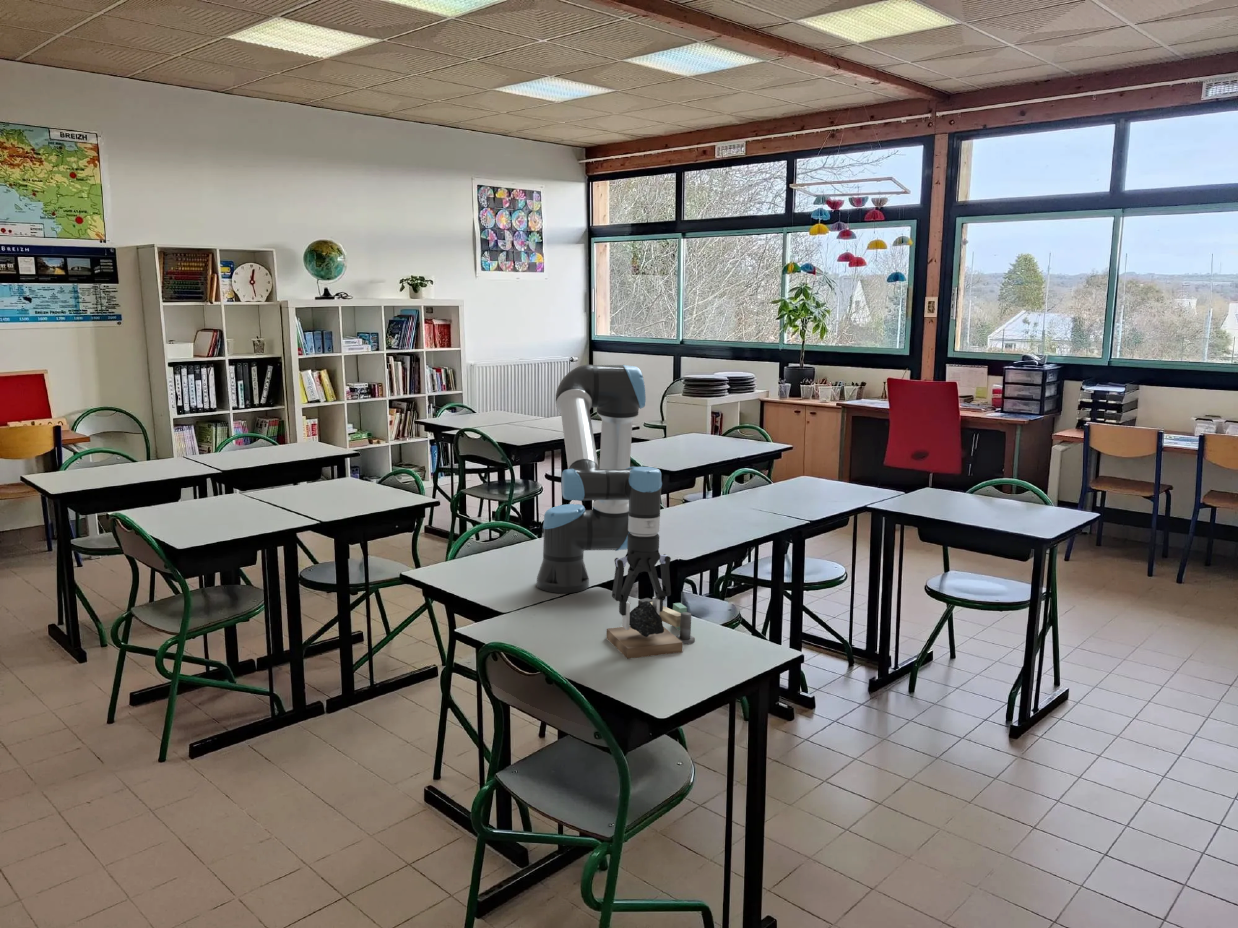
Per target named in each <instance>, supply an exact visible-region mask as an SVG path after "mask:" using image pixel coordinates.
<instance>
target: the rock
mask: <svg viewBox="0 0 1238 928" xmlns="http://www.w3.org/2000/svg"><path fill="white" fill-rule="evenodd" d="M663 625H664V623H663V621H662V618H661V617H660V615H659V614H658V613H657V612H656V610H655V608H654V607H653V605H652V604H651V603H650V602H648V601H644V602H642V603H640V604H639V605H637V606H635V607H634V608H632V610H630V622H629V626H630V627H631V628H632V629H634V630H637V631H638V632H639V633H640V634H641V635H643V636H645V637H648V636H649V635H651V634H652V635H653V634H660V633H663V632H664V628H665V627H664V626H663ZM663 627H664V628H663Z"/></svg>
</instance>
